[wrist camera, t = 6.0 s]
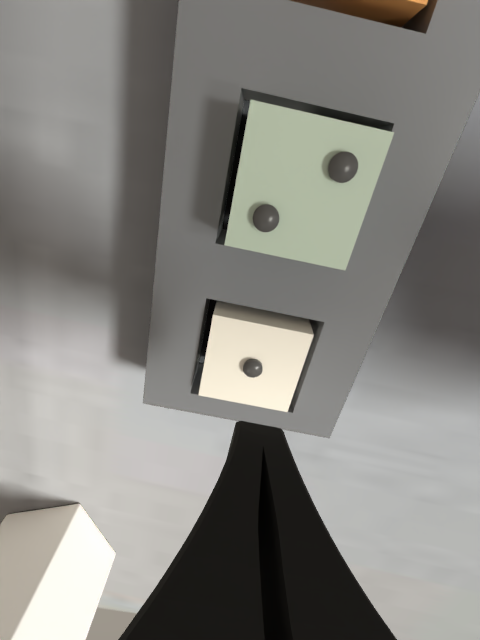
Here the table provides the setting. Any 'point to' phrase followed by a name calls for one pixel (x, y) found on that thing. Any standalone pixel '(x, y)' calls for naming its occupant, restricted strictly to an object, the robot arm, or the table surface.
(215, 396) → the button one cream
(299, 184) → the button two sage
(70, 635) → the milk
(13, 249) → the table surface
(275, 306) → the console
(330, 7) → the button three orange
